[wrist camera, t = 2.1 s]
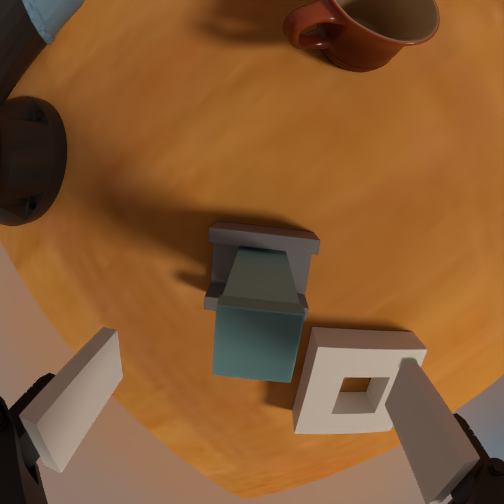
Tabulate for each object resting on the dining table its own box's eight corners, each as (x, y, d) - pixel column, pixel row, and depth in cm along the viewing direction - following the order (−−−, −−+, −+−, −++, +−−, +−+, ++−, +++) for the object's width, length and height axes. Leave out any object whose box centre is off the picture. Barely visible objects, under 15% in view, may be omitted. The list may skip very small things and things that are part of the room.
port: (292, 410, 33) (294, 437, 29) (312, 326, 30) (318, 350, 26) (381, 410, 33) (391, 433, 29) (412, 331, 30) (429, 352, 26)
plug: (235, 284, 29) (212, 374, 15) (240, 241, 28) (216, 304, 14) (280, 289, 29) (290, 382, 15) (286, 246, 28) (305, 313, 14)
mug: (365, 3, 22) (398, -49, 12) (406, 72, 24) (459, 37, 14) (260, 30, 23) (258, -30, 13) (300, 104, 25) (320, 67, 15)
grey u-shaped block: (210, 293, 30) (203, 309, 26) (216, 221, 28) (209, 227, 25) (301, 304, 30) (306, 320, 26) (313, 232, 28) (320, 240, 24)
